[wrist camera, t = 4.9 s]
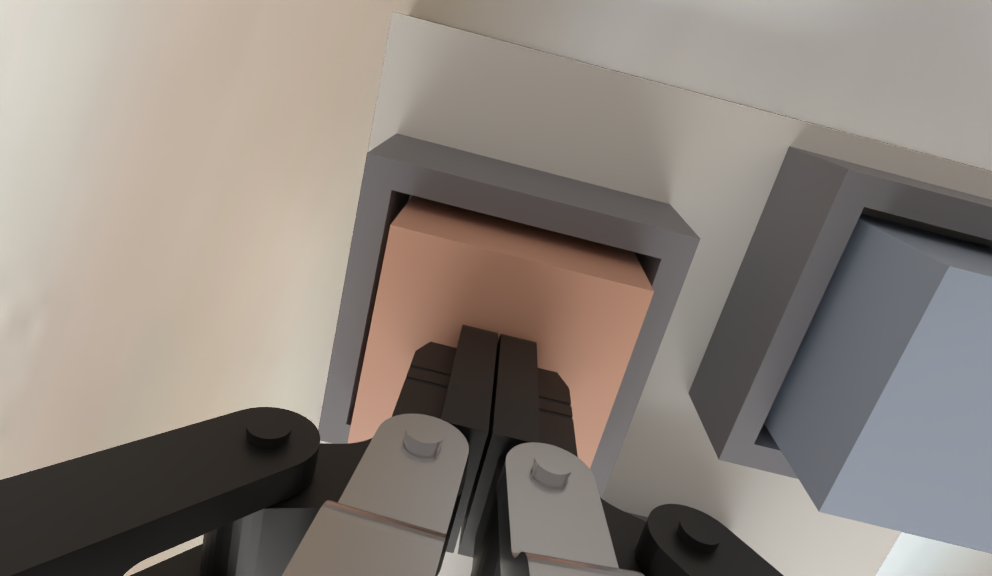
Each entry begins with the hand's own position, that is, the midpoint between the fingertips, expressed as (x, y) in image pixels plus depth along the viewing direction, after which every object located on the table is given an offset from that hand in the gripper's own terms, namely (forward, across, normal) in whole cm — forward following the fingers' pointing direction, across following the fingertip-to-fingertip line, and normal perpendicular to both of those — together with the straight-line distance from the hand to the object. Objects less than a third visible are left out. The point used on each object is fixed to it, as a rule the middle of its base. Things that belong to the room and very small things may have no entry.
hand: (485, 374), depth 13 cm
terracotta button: (+4, 0, 0) cm, 4 cm away
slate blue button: (+3, -9, -2) cm, 10 cm away
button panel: (+6, -5, +4) cm, 9 cm away
